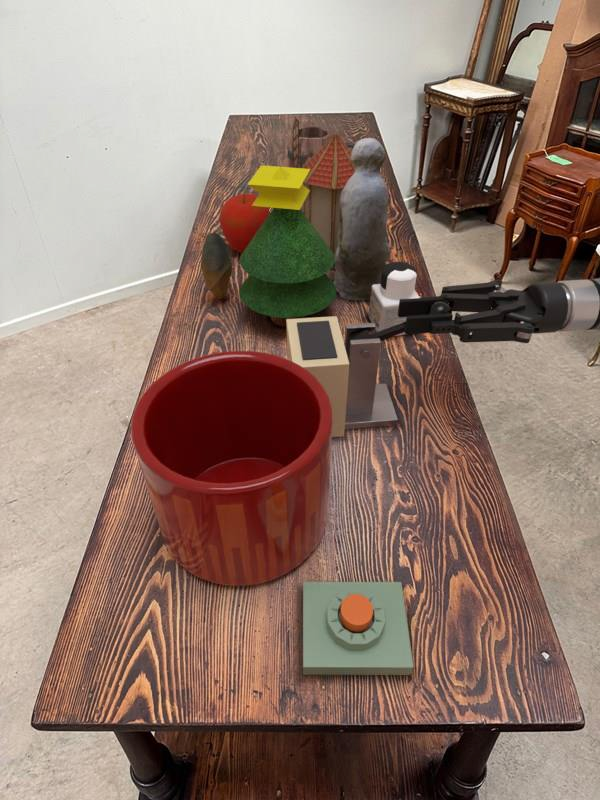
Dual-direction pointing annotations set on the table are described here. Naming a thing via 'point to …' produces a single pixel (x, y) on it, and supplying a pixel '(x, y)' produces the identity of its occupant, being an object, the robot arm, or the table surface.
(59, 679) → the table surface
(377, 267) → the sculpture
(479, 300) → the robot arm
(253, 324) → the table surface
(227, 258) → the decorative stone
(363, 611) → the button
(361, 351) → the metal lever stand
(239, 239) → the apple
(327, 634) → the control block
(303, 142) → the tankard
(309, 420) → the planter
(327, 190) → the miniature windmill
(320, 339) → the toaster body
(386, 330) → the toaster lever
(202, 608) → the table surface
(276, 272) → the decorative tree
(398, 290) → the container
